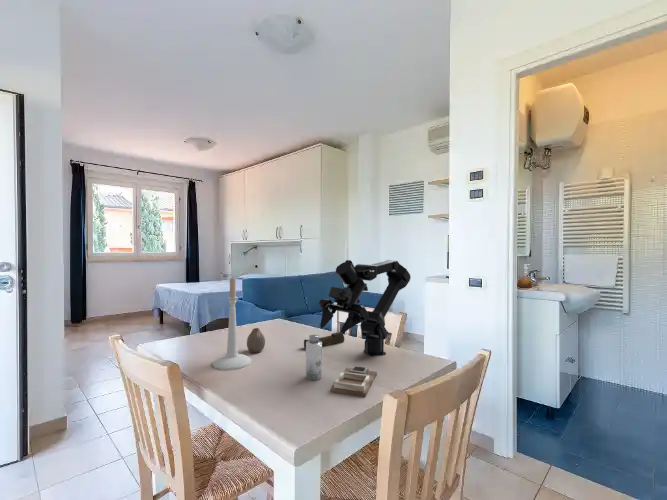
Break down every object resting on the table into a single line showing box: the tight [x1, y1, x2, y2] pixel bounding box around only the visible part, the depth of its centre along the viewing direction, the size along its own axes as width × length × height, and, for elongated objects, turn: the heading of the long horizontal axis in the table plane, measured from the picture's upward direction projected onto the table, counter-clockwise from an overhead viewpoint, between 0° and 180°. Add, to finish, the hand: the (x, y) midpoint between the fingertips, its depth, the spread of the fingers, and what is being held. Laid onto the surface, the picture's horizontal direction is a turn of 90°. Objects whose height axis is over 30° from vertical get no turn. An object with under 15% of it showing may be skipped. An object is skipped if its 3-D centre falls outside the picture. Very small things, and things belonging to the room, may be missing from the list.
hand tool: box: [303, 331, 345, 350], centre depth 140 cm, size 19×4×5 cm, turn 122°
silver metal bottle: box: [305, 334, 323, 381], centre depth 106 cm, size 5×5×13 cm
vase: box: [246, 327, 266, 354], centre depth 131 cm, size 7×7×9 cm
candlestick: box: [212, 277, 252, 371], centre depth 118 cm, size 13×13×30 cm
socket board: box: [330, 365, 378, 398], centre depth 103 cm, size 17×10×2 cm, turn 162°
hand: (331, 330), depth 112 cm, fingers open, 9 cm apart
